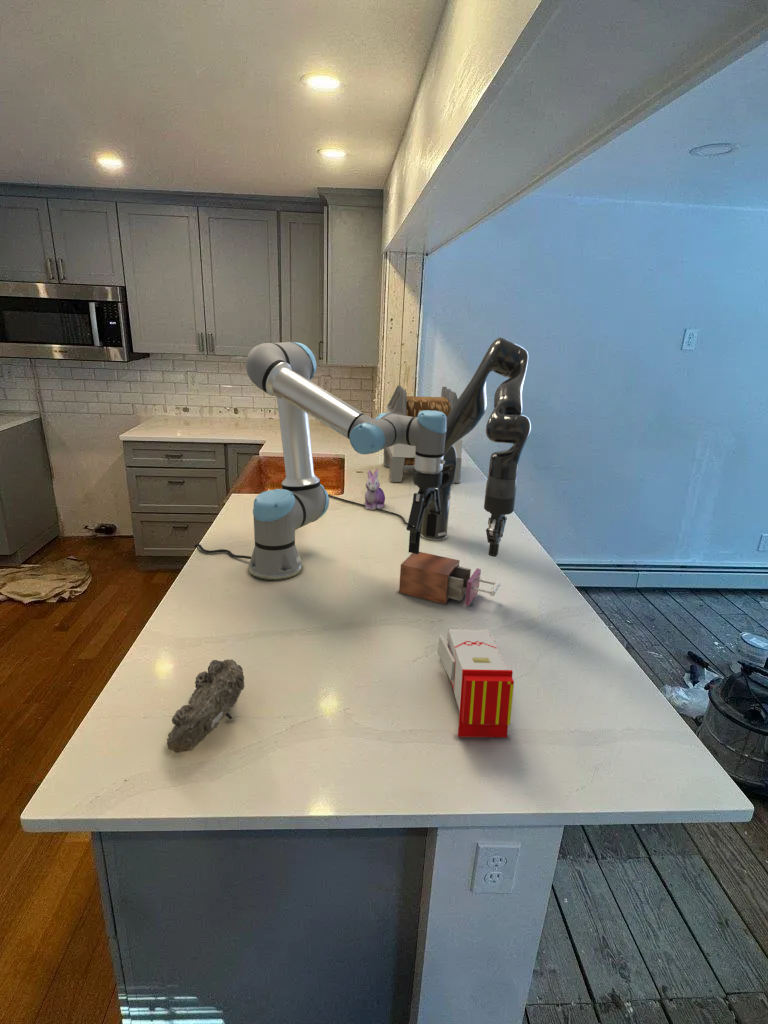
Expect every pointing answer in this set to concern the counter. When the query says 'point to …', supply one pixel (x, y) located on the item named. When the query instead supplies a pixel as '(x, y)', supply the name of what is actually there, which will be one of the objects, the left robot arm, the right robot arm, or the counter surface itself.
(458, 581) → the drawer
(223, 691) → the fossil
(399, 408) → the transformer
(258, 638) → the counter surface
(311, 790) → the counter surface
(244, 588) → the counter surface
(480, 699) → the toy
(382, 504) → the figurine
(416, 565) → the cabinet
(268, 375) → the left robot arm
